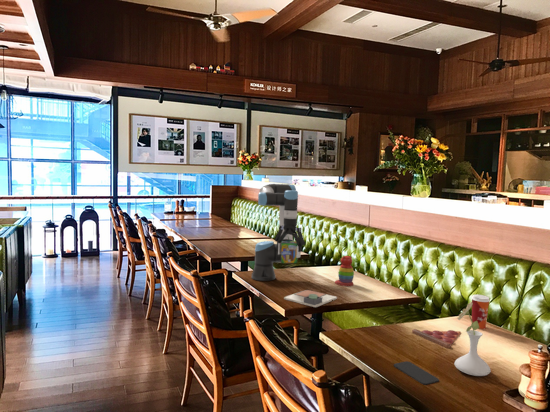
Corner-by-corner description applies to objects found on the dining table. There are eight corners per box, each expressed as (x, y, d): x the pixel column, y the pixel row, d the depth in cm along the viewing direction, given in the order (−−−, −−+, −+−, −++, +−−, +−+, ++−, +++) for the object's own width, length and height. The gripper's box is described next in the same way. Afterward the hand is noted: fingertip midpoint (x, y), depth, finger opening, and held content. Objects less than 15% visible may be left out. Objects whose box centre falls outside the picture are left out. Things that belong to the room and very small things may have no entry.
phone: (423, 384, 134) (392, 364, 148) (423, 386, 134) (392, 366, 148) (440, 380, 137) (408, 360, 151) (440, 382, 137) (408, 363, 151)
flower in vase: (468, 361, 153) (472, 294, 151) (497, 375, 143) (502, 303, 141) (443, 368, 147) (448, 298, 145) (472, 383, 137) (477, 308, 135)
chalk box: (297, 264, 232) (298, 237, 231) (280, 263, 232) (281, 236, 231) (296, 260, 241) (297, 235, 240) (280, 260, 241) (281, 234, 240)
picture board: (284, 299, 222) (284, 292, 222) (306, 291, 239) (306, 285, 239) (315, 307, 210) (315, 300, 210) (336, 298, 226) (337, 292, 226)
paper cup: (482, 331, 185) (484, 300, 184) (465, 325, 191) (467, 295, 190) (491, 327, 189) (493, 297, 188) (475, 322, 195) (477, 293, 194)
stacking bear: (348, 281, 264) (350, 253, 263) (357, 285, 255) (358, 257, 253) (333, 282, 260) (334, 254, 259) (341, 287, 251) (342, 257, 250)
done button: (307, 299, 215) (307, 295, 215) (311, 298, 218) (312, 293, 218) (314, 301, 212) (314, 296, 212) (318, 299, 215) (319, 295, 215)
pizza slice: (411, 329, 180) (442, 322, 190) (411, 334, 180) (442, 327, 190) (447, 344, 164) (479, 336, 174) (447, 350, 164) (479, 341, 174)
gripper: (269, 216, 239) (268, 253, 241) (304, 220, 224) (302, 259, 226) (277, 215, 245) (276, 251, 247) (312, 219, 230) (310, 258, 231)
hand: (289, 255), depth 236 cm, fingers closed on chalk box, 12 cm apart
